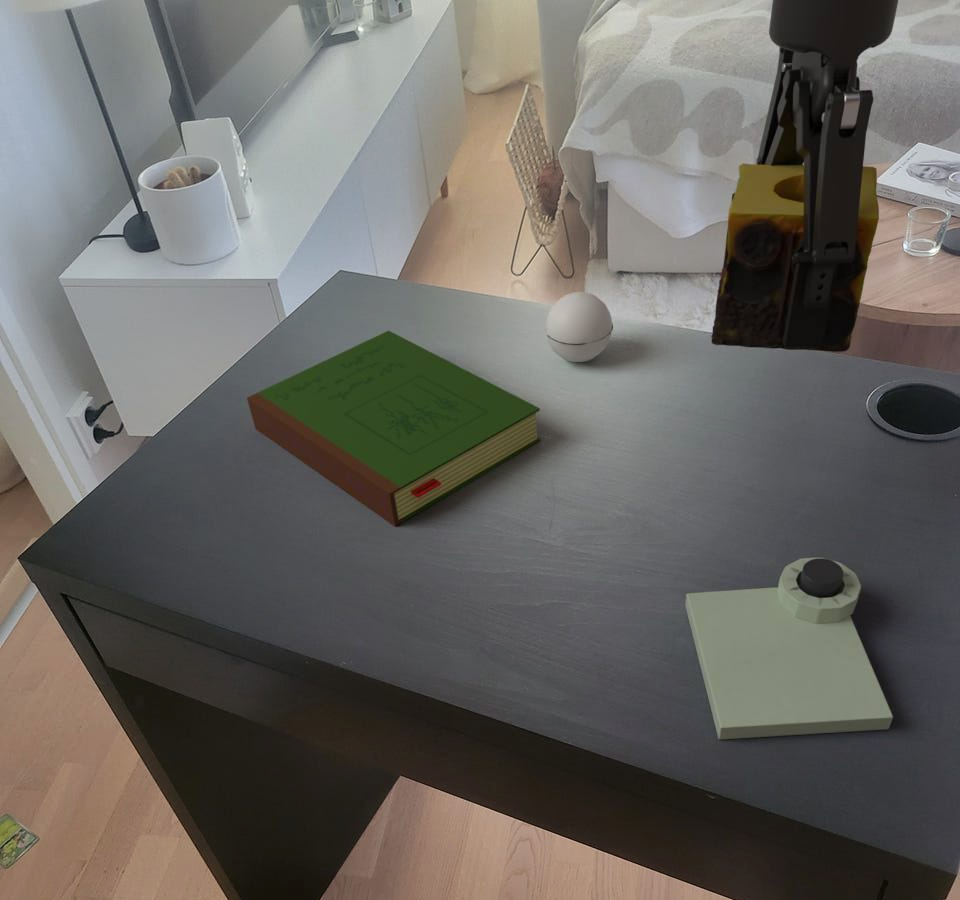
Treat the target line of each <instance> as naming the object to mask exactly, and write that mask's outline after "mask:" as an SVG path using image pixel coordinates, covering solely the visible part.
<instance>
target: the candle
mask: <svg viewBox="0 0 960 900" xmlns="http://www.w3.org/2000/svg"><path fill="white" fill-rule="evenodd" d="M738 175H739V177H738V179H737V185H736V189H735V192H733V193H732V194H731V195H732V196H731V203H730V206H729V210H728V216H727V217H728V218H727V231H726V238H725V248H724V257H723V264H722V265H723V266H722V268H721V272H720V273H721V274H720V279H719V281H718V282H719V283H718V289H717V296H716V301H715V314H714V315H715V316H714V320H713V326H712V332H711V333H712V334H711V336H710V337H711V344H712V345H715V346H728V347H742V348H758V349H759V348H761V349H762V348H763V349H781V350H782V349H783V350H787V351H789V350H790V351H819V352H833V353H835V352H836V353H838V352H841V353H842V352H847V351H848V350H849V349H850V348H851V341H852V337H853V336H852V334H853V331H854V330H855V329H854V328H855V326H856V322H857V318H858V312H859V310H860V309H859V308H860V305H861V299H862V294H863V290H864V284H865V279H866V274H867V271H868V262H869V257H870V255H871V253H872V247H873V243H874V239H875V236H876V232H877V228H878V223H879V219H880V207H879V202H878V194H877V186H878V185H877V184H878V178H877V175H878V174H877V168H876V167H874V166H867V165H865V166H864V165H863V172H862V182H861V193H860V203H859V214H858V224H857V235H856V245H855V256H854V260H853V261H852V262H851V263H839V265H838V270H837V275H836V280H835V285H834V290H833V295H832V300H831V305H830V310H829V315H828V320H827V325H826V330H825V335H824V340H823V345H816V346H801V347H784V344H783V337H784V331H785V326H786V320H787V314H788V308H789V302H790V296H791V290H792V284H793V278H794V272H795V266H796V264H793V261H792V256H793V255H794V254H796V253H798V252H803V223H804V164H803V165H757V164H753V163H745V162H744V163H742V164H740V165H738Z"/></svg>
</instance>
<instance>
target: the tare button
mask: <svg viewBox="0 0 960 900" xmlns="http://www.w3.org/2000/svg"><path fill="white" fill-rule="evenodd" d="M821 558H822V557H820V558H819V559H812V560H810V561H808V562H807V563H805V565H804V566H803V570H802V574H801V579H800V585H799V586H800V587H801V589H802V590H803V591H804V592H805V593H806V594H808V595H810V596H814V597H817V598H829V597H832V596H834V595H836V594H837V593H838V592H839V589H840V586H841V582H842V578H843V570H842V568H841V567H840V566H839V565H838V564H837V563H835V562H834V561H835V560H832V559H829V560H828V558H825V559H821ZM831 560H832V561H831Z"/></svg>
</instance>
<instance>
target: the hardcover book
mask: <svg viewBox="0 0 960 900" xmlns="http://www.w3.org/2000/svg"><path fill="white" fill-rule="evenodd" d="M246 400H247V403H248V408H249V411H250V414H251V418H252V421H253V425H254V429H255V430H256V431H258V432H260V433H261V434H262V435H263V436H265V437H266V438H268V439H269V440H271V441H272V442H274V443H275V444H277V445H278V446H279V447H280V448H282V449H284V450H285V451H286V452H288V453H289V454H291V455H292V456H293V457H295V458H297V459H298V460H299V461H301V462H302V463H303V464H305V465H306V466H308V467H309V468H311V469H312V470H313V471H315V472H317V474H319V475H321V476H322V477H324V478H325V479H327V480H328V482H331V483H332V484H333V485H335V486H336V487H338V488H339V489H341V490H342V491H344V492H345V493H346V494H348V495H349V496H351V498H354V499H355V500H356V501H357V502H359V503H361V504H362V505H364V506H365V507H366V508H368V509H369V510H370V511H372V512H374V513H375V514H376V515H378V516H379V517H381V518H382V519H383V520H385V521H386V522H388V523H389V524H391V525H392V526H394V527H397V526H399V525H401V524H402V523H404V522H406V521H407V520H409V519H410V518H412V517H414V516H416V515H417V514H419V513H421V512H423V511H424V510H426V509H428V508H429V507H431V506H432V505H435V504H437V503H438V502H439V501H441V500H443V499H445V498H446V497H448V496H450V495H452V494H454V492H457V491H458V490H460V489H462V488H463V487H465V486H466V485H468V484H470V483H472V482H473V481H475V480H477V479H478V478H480V477H482V476H484V475H485V474H487V473H488V472H490V471H492V470H494V469H496V468H497V467H498V466H501V465H502V464H504V463H505V462H507V461H509V460H511V459H512V458H514V457H516V456H517V455H519V454H521V453H523V452H524V451H526V450H528V449H529V448H531V447H534V445H536V444H538V443H539V442H541V441H542V440H541V438H540V437H539V436H538V424H537V413H538V412H539V411H540V410H541V408H540V407H539V406H537V405H535V404H532V403H530V402H529V401H526V400H525V399H522V398H521V397H519V396H517V395H515V394H513V393H512V392H510V391H507V390H505V389H503V388H502V387H499V386H497V385H495V384H493V383H492V382H490V381H488V380H485V379H483V378H482V377H480V376H478V375H476V374H474V373H472V372H470V371H468V370H466V369H464V368H462V367H461V366H459V365H456V364H455V363H453V362H451V361H449V360H447V359H446V358H443V357H441V356H440V355H437V354H435V353H433V352H431V351H430V350H428V349H426V348H424V347H422V346H419V345H418V344H416V343H414V342H412V341H410V340H408V339H406V338H405V337H402V336H401V335H398V334H396V333H395V332H393V331H391V330H387V331H384V332H382V333H380V334H378V335H376V336H374V337H372V338H370V339H367V340H366V341H363V342H361V343H359V344H357V345H355V346H353V347H351V348H348V349H346V350H344V351H343V352H340V353H338V354H336V355H334V356H332V357H329V358H328V359H325V360H323V361H321V362H319V363H317V364H315V365H313V366H311V367H309V368H306V369H304V370H302V371H300V372H298V373H296V374H294V375H292V376H289V377H287V378H285V379H284V380H280V381H279V382H276V383H275V384H272V385H271V386H268V387H267V388H264V389H262V390H260V391H258V392H256V393H254V394H252V395H250V396H248V397H246Z"/></svg>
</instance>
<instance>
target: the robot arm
mask: <svg viewBox="0 0 960 900" xmlns="http://www.w3.org/2000/svg"><path fill="white" fill-rule="evenodd" d="M898 5H899V0H772V4H771V12H770V21H769V28H768V34H769V35H768V36H769V38H770V40H771V41H772V42H773V44H774V45H776V46H777V47H778V48H779V49H778V51H779V52H778V53H779V55H778V63H777V70H776V74H775V79H774V84H773V89H772V92H771V97H770V101H769V106H768V110H767V115H766V120H765V124H764V128H763V132H762V137H761V141H760V146H759V149H758V155H757V158H756V165H804V223H803V252H798V253H796V254H794V255H793V256H792V261H793V264H796V266H795V272H794V278H793V284H792V290H791V296H790V302H789V308H788V314H787V320H786V326H785V331H784V337H783V344H784V347H801V346H816V345H823V340H824V335H825V330H826V325H827V320H828V315H829V310H830V305H831V300H832V295H833V290H834V285H835V280H836V275H837V270H838V265H839V263H851V262H852V261H853V260H854V256H855V245H856V235H857V224H858V214H859V203H860V193H861V182H862V172H863V166H864V160H865V148H866V138H867V131H868V126H869V122H870V117H871V112H872V106H873V104H874V93H873V90H872V89H861V87H860V86H861V82H860V77H859V76H857V74H858V65H859V64H858V61H859V57H860V55H861V54H863V53H864V52H865V51H867V50H868V49H874V48H877V47H879V46H880V45H882V44H884V43H885V42H886V41H887V40H888V39H889V38H890V36H891V35H892V32H893V29H894V24H895V20H896V14H897V9H898Z"/></svg>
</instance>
